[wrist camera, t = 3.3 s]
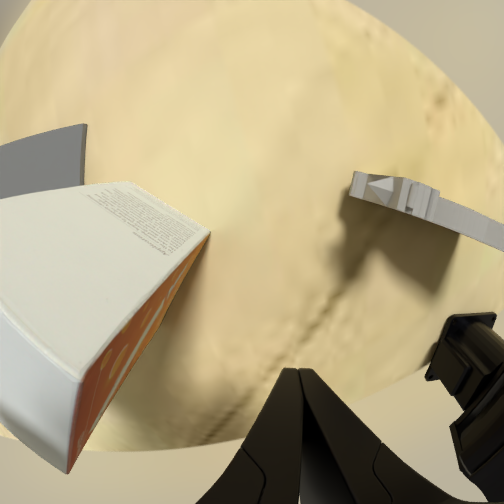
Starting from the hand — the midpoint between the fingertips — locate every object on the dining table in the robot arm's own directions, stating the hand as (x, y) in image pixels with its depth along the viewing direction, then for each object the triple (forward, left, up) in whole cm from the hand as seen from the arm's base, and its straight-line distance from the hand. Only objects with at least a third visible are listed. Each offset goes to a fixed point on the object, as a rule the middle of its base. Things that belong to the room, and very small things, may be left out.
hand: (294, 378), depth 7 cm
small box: (+9, 0, -10) cm, 13 cm away
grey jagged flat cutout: (-8, -5, -10) cm, 14 cm away
